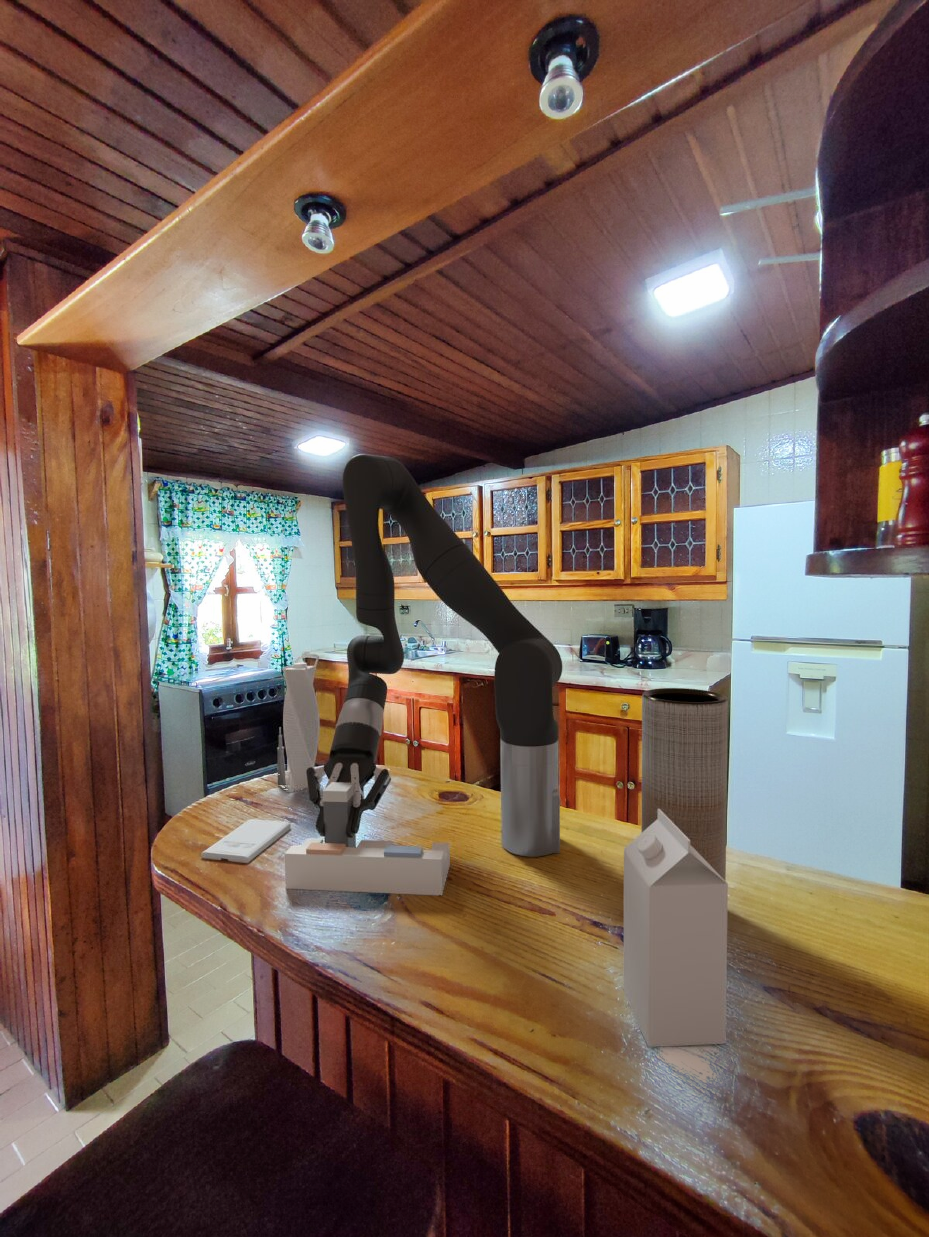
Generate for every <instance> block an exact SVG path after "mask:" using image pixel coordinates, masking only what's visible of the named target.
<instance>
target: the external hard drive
mask: <svg viewBox="0 0 929 1237" xmlns="http://www.w3.org/2000/svg"><path fill="white" fill-rule="evenodd" d="M291 826H292V824H291V822H288V821H280V820H269V819H268V820H266V819H256V818H250V819H248V820H247V821H245V822H244V823H243V824H240V826H238V827H237V828H235V829H234V830H231V832H229V833H228V834H227V835H225V836H224V837H223V838H220V839H219V840H217V842H215V843H214V844H212V845H211V846H210V847H208V848H206V849H205V850H203V851H202V852H201V855H200V856H201V859H206V860H218V861H221V860H222V861H228V862H235V863H243V864H249V863H250V862H251V861H252V860H253V859H255V858H257V856H259V855H260V854H261V853H262V852H263V851H265V850H266V849H267V848H268V847H270V846H271V845H272V844H273V843H275V842H276V841H277V840H278V839H279V838H281V837H282V836H284V835H285V834H286V833H287V832H288V831H290V829H291V828H292V827H291Z"/></svg>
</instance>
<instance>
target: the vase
mask: <svg viewBox="0 0 929 1237" xmlns="http://www.w3.org/2000/svg"><path fill="white" fill-rule="evenodd" d="M728 705H729V702H728V697H727V696H725V695H724V694H721V693H720V692H719V693H718V692H716V691H715V692H714V691H711V690H704V689H698V688H697V689H696V688H687V687H686V688H684V687H683V688H681V687H661V688H654V689H653V688H652V689H648V690H646V691H644V692H643V693H642V695H641V833H642V832H643V831H644V830H646V829H647V828H648V827H649V826H650V825H651V824H652V823H653V822H655V821H656V820H657V819H658V809H660V810H661V811H662V812H663V813H664V814H665V815H666V816H667V817H668V818H669V819H670V820H671V821H672V822H673V823H674V824H675V825H676V826H677V827H678V828H679V829H680V830H681V831H682V832H683V833H684V834H685V836H686V837H687V838H688V839H689V840H690V845H691V846H692V847H693V848H694V849H695V850H696V851H697V852H698V853H699V854H700V855H701V856H702V857H703V858H704V859H705V860H706V861H707V862H708V863H709V865H710V866H711V867H712V868H713V869H714V870H715V871H716V872H717V873H718V874H719V875H720V876H721V877H722V878H723V879H724V880H725V881H726V877H727V874H726V872H727V868H726V867H727V866H726V864H727V801H728V800H727V799H728V798H727V795H728V794H727V792H728V791H727V790H728V789H727V786H728V778H727V777H728V766H727V765H728V719H729V718H728V716H729V714H728V713H729V712H728V709H729V708H728ZM726 882H727V881H726Z"/></svg>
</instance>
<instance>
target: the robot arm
mask: <svg viewBox="0 0 929 1237" xmlns="http://www.w3.org/2000/svg"><path fill="white" fill-rule="evenodd" d="M342 493H343V501H344V504H345V505H344V506H345V511H346V518H347V525H348V530H349V536H350V541H351V547H352V548H351V549H352V553H353V563H354V570H355V571H354V572H355V616H356V620H357V621H358V623H360V624H362V625H366V626H370V627H372V628H376V629H377V630H378V631H379V632H380V634H381V635H380V636H379V635H357V636H355V637H353V638H352V639H351V640H350V642H349V643H348V645H347V649H346V660H347V667H348V668H347V670H348V680H347V681H348V682H347V689H346V694H345V697H344V701H343V704H342V708H341V710H340V712H339V715H338V719H337V722H336V725H335V726H336V727H335V730H334V734H333V739H332V742H331V746H330V750H329V756H328V759H327V760H326V762H325V763H324V765H323V766H320V767H318V768H314V769H313V768H312V767H309V768H308V769H307V770H306V773H307V782H308V789H307V790H308V797H309V799H308V800H309V801H310V803H311V804H312V806H313V807H314V808H315V809H318V813H317V817H316V823H315V830H317V833H318V835H319V836H320V837H324V836H325V828H324V808H323V796H322V795H321V789H320V786H319V783H320V784H321V783H322V781H323V777H324V776H326V777H327V779H328V781H327V784H326V785H325V788H326V787H327V786H328V785H329V784H330V783H331V782H343V783H354V788H353V798H352V802H353V807H352V808H351V809H350V814H349V818H348V823H347V826H346V835H347V837H349V838H353V837H354V834H358V832H359V829H360V824H361V819H362V816H363V813H364V812H365V811H368V810H370V811H374V810H375V809H376V807H377V805H379V802H380V800H381V798H382V797H383V795H384V794H385V792H386V790H387V788H388V787H389V785H390V783H391V781H392V777H391V774H390V772H389V770H388V769H387V768H383V769H380V768H378V767H377V765H376V762H377V761H376V760H377V756H378V751H379V745H380V742H381V741H380V740H381V737H382V736H381V735H383V734H382V733H383V726H384V725H383V723H384V712H385V706H386V701H387V696H388V685H387V683H386V681H385V680H384V679H383V678H381V677H379V676H378V675H377V674H379V675H380V674H381V675H393V674H396V673H398V672H399V671H400V670H401V669H402V667H403V665H404V660H405V652H404V648H403V644H402V641H401V638H400V632H399V630H398V625H397V621H396V614H395V613H396V612H395V608H396V607H395V605H396V603H395V600H396V598H395V596H396V595H395V591H396V590H395V577H394V572H393V570H392V566H391V563H390V561H389V559H388V555H387V554H386V551H385V548H384V545H383V542H382V539H381V535H380V534H381V533H380V527H379V526H380V525H379V524H380V523H379V517H380V510H384V511H385V512H387V514H389V515H390V516H391V517H392V519H394V520H395V521H396V523H397V524H398V525H399V526H400V527H401V528H402V530H403V532H404V533H405V535H406V536H407V538H408V541H409V544H410V548H411V552H412V557H413V561H414V564H415V567H416V569H417V571H418V573H419V575H420V576H421V577H422V579H423V580H424V581H425V582H426V584H427V585H428V586H429V588H430V589H431V590H432V591H433V592H434V594H435V595H436V596H437V597H438V598H439V599H440V600H441V602H443V604H445V606H447V607H448V608H449V609H451V611H453V612H454V613H456V614H457V615H458V616H459V617H461V618H462V619H463V620H465V621H466V622H468V623H469V624H471V625H472V626H473V627H474V628H476V629H477V630H478V631H479V632H480V633H481V634H483V635H484V636H485V638H486V639H487V640H488V641H489V642H490V643H491V645H492V646H493V648H495V650H496V651H497V653H498V656H497V657H496V661H495V664H494V673H493V674H494V678H493V679H494V680H493V684H494V702H495V703H494V704H495V705H494V706H495V718H496V722H497V725H498V728H499V731H500V732H499V733H500V734H499V735H500V736H499V737H500V742H499V743H500V820H501V821H500V822H501V823H500V824H501V826H500V834H501V837H500V839H501V845H502V848H504V849H505V851H508V852H509V853H511V854H514V855H517V856H521V857H529V858H530V857H532V858H534V857H543V856H548V855H550V854H560V853H561V806H560V805H561V803H560V802H561V797H560V796H561V794H560V789H559V778H560V777H559V775H560V774H559V725H558V724H559V723H558V721H557V720H556V719H555V717H554V707H553V706H554V704H553V703H554V702H553V700H554V698H553V687H554V686H556V685H557V683H558V682H559V681H560V679H561V678H562V677H561V676H562V673H563V661H562V657H561V655H560V652H559V650H558V649H557V647H556V646H555V645H554V644H553V643H552V642H551V641H550V640H549V639H548V638H547V637H546V636H545V635H544V634H543V633H542V631H541V632H540V630H539V629H538V628H536V627H535V626H534V625H533V624H532V623H531V621H529V620H528V619H527V617H526V616H524V615H523V614H522V613H521V612H520V611H519V609H518V608H516V606H515V605H514V604H513V603H512V601H511V599H510V598H509V597H508V596H507V595H506V593H505V591H503V589H502V588H501V587H500V585H499V584H498V583H497V581H496V580H495V579H494V578H493V577H492V575H491V574H490V573H489V571H488V570H487V569H486V568H485V566H483V564H482V563H481V561H480V559H478V557H477V556H476V555H475V553H473V551H472V550H471V549H470V548H469V547H468V546H467V544H465V542H464V541H463V540H462V539H461V538H460V537H459V536H458V535H457V534H456V532H455V531H454V530H453V529H452V527H451V526H450V525H449V524H448V522H447V521H446V520H445V519H444V518H443V517H442V516H441V514H439V512H438V511H437V510H436V509H435V508H434V506H433V504H431V502H430V501H429V500H428V498H427V496H426V495H425V494H424V492H423V491H422V489H421V488H420V486H419V485H418V483H417V482H416V480H415V479H414V477H413V476H412V474H411V473H410V471H409V470H408V469H407V468H406V466H405V465H404V464H403V463H402V462H400V461H399V460H397V459H396V458H393V457H390V456H384V455H378V454H377V455H376V454H368V453H360V454H356V455H354V456H351V458H350V459H349V460H348V461H347V462H346V464H345V466H344V469H343V473H342ZM373 777H374V779H373ZM372 779H373V780H374V783H373V785H372V786H371V788H370V790H369V791H368V793H367V795H366V797H365V786H366V785H367V784H368V783H369V782H370V781H371V780H372ZM325 788H324V789H325Z"/></svg>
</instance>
